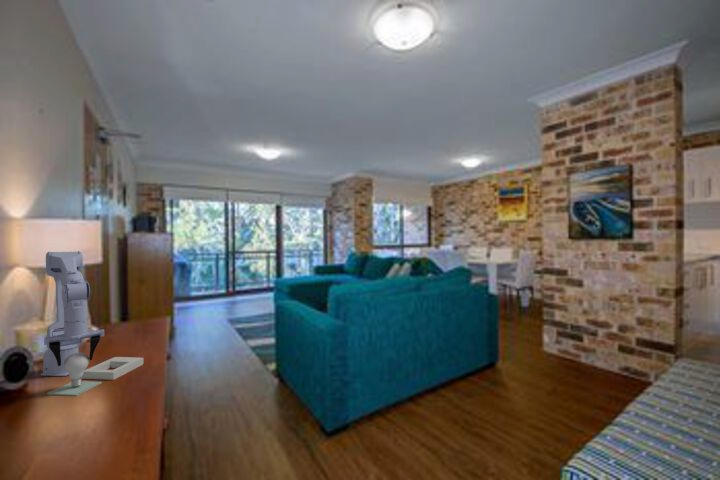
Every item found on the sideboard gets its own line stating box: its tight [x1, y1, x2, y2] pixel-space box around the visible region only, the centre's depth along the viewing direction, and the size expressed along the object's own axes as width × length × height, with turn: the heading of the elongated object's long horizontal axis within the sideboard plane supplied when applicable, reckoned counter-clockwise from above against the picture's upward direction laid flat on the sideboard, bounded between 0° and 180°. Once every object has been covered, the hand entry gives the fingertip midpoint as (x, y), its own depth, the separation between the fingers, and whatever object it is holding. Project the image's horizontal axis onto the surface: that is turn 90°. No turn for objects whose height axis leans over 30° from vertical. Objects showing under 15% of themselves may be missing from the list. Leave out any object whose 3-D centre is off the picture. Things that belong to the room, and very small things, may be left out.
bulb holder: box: [82, 356, 144, 381], centre depth 119 cm, size 12×14×2 cm
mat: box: [46, 380, 103, 397], centre depth 105 cm, size 10×9×1 cm
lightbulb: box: [64, 352, 90, 387], centre depth 106 cm, size 6×6×11 cm
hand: (75, 362), depth 105 cm, fingers open, 7 cm apart
